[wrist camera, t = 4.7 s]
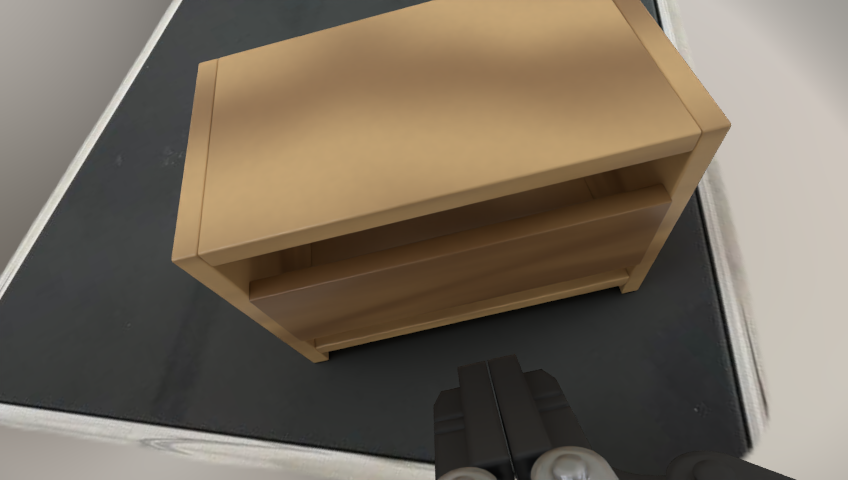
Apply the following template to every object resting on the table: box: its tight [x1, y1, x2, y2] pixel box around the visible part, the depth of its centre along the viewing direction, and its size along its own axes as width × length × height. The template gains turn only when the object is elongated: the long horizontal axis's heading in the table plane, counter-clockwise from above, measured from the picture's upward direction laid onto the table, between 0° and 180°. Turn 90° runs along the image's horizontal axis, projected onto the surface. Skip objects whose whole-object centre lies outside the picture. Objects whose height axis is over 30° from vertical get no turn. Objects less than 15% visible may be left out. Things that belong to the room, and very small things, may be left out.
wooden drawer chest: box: [172, 0, 731, 363], centre depth 20 cm, size 9×16×11 cm, turn 100°
